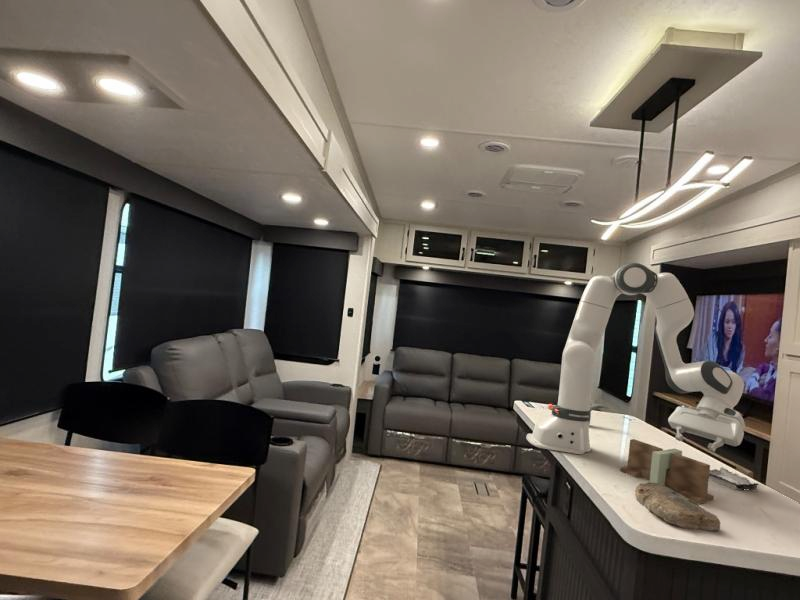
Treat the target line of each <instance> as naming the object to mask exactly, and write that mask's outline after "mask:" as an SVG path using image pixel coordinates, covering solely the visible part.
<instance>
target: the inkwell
mask: <svg viewBox="0 0 800 600" xmlns="http://www.w3.org/2000/svg"><path fill="white" fill-rule="evenodd" d="M599 409H607V410H609V409H610V408H609V407H608V406H606V405H604V404H601V403H594V404H593V403H592V404H590V411H591V412H592V411H593V410H599Z"/></svg>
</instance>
